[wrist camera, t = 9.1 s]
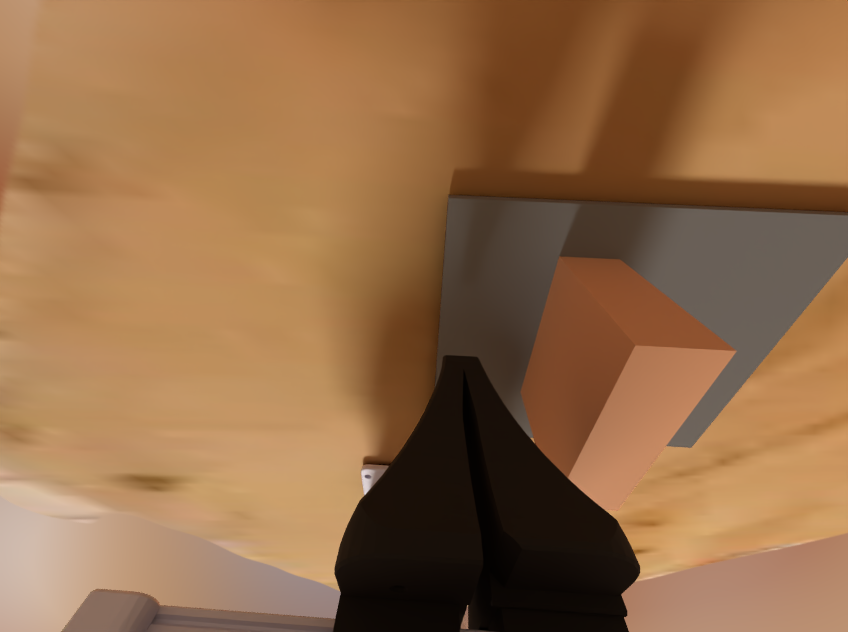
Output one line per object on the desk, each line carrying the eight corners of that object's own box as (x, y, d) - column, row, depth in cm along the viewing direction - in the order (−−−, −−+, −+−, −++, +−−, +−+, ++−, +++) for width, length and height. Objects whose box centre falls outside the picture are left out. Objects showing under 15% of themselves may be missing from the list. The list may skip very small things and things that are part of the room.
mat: (684, 439, 19) (691, 447, 19) (432, 423, 20) (432, 431, 19) (862, 213, 12) (881, 217, 11) (448, 194, 12) (448, 197, 12)
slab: (565, 394, 17) (618, 510, 12) (520, 392, 17) (553, 506, 12) (620, 259, 13) (736, 350, 8) (558, 256, 13) (635, 345, 8)
